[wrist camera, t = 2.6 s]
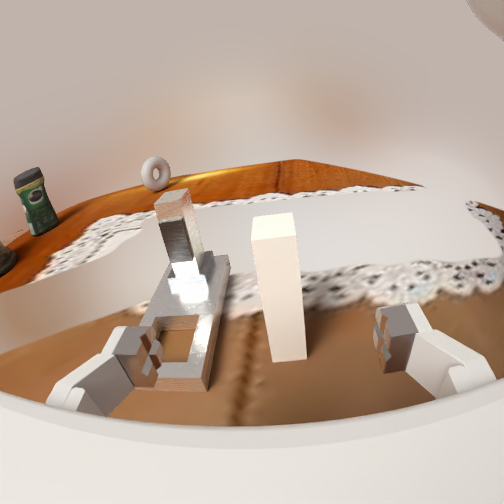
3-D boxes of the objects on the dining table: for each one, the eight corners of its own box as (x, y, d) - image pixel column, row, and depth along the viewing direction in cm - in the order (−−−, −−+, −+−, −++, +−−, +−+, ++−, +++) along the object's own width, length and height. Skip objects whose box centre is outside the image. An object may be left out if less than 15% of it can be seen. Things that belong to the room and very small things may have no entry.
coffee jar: (55, 221, 83) (37, 165, 74) (62, 223, 78) (42, 163, 69) (29, 235, 76) (9, 178, 68) (35, 239, 72) (13, 177, 63)
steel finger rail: (207, 391, 24) (159, 273, 19) (125, 389, 25) (64, 283, 20) (230, 267, 42) (211, 180, 36) (174, 273, 43) (150, 192, 37)
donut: (168, 184, 90) (161, 152, 85) (176, 184, 88) (168, 151, 84) (143, 196, 83) (134, 163, 78) (151, 197, 81) (141, 162, 77)
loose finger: (306, 359, 26) (296, 235, 20) (272, 362, 26) (250, 240, 21) (303, 324, 30) (291, 209, 24) (272, 327, 30) (253, 214, 25)
